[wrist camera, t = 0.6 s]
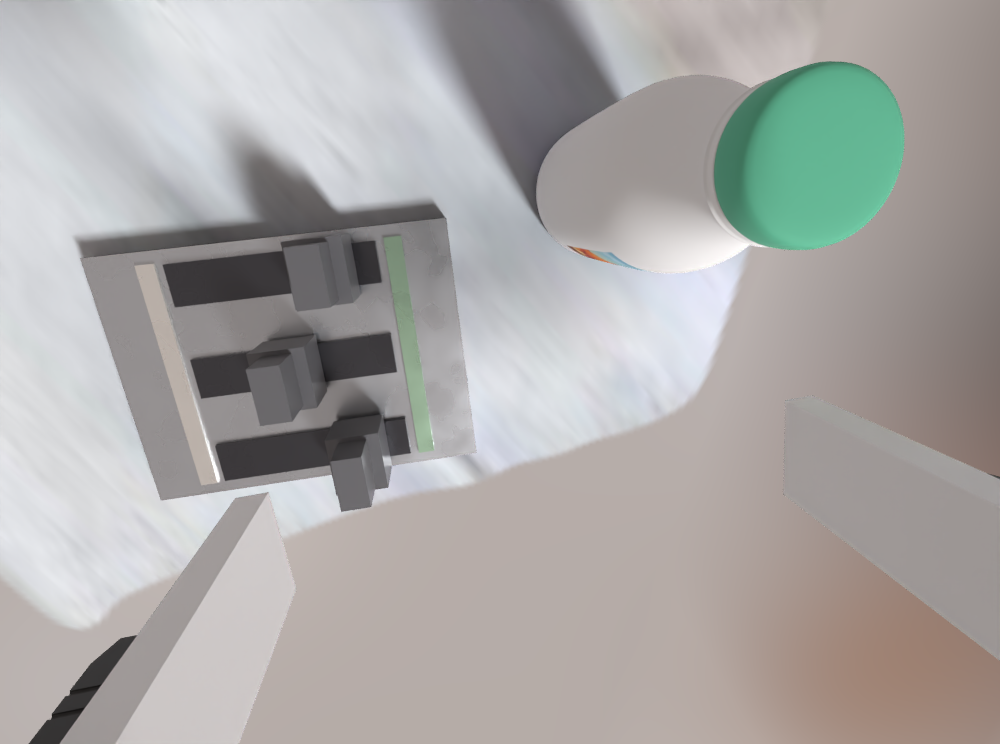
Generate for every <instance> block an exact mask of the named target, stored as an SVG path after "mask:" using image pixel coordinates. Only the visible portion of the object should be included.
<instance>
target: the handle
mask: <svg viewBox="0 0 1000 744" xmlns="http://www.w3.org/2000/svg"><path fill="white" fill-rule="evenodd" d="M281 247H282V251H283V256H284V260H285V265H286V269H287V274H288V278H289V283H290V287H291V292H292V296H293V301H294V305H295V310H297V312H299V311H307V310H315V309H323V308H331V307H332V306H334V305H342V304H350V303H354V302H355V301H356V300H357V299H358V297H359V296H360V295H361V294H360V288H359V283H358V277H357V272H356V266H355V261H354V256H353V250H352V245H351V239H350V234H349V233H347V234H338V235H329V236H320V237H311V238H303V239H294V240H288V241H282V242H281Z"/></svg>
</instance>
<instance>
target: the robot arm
mask: <svg viewBox="0 0 1000 744" xmlns="http://www.w3.org/2000/svg"><path fill="white" fill-rule="evenodd" d="M784 444H785V445H784V489H783V491H784V492H783V495H784V496H786V497H787V498H788V499H790V500H791V501H792V502H794V503H795V504H796V505H797V506H799V507H800V508H801V509H803V510H804V511H805V512H807V513H808V514H809V515H811V516H812V517H813V518H815V519H816V520H817V521H818V522H820V523H821V524H822V525H824V526H825V527H826V528H828V529H829V530H830V531H831V532H833V533H834V534H835V535H837V536H838V537H839V538H840V539H842V540H843V541H844V542H846V543H847V544H848V545H850V546H851V547H852V548H854V549H855V550H856V551H858V552H859V553H860V554H861V555H863V556H864V557H865V558H867V559H868V560H869V561H870V562H872V563H873V564H874V565H876V566H877V567H878V568H880V569H881V570H882V571H884V572H885V573H886V574H887V575H889V576H890V577H891V578H893V579H894V580H895V581H897V582H898V583H899V584H901V585H902V586H903V587H904V588H906V589H907V590H908V591H910V592H911V593H912V594H914V595H915V596H916V597H918V598H919V599H920V600H921V601H923V602H924V603H925V604H927V605H928V606H929V607H930V608H932V609H933V610H934V611H936V612H937V613H938V614H940V615H941V616H942V617H943V618H945V619H946V620H947V621H949V622H950V623H951V624H953V625H954V626H955V627H957V628H958V629H959V630H960V631H962V632H963V633H964V634H966V635H967V636H968V637H970V638H971V639H972V640H973V641H975V642H976V643H977V644H979V645H980V646H981V647H983V648H984V649H986V651H988V652H989V653H991V654H992V655H993V656H994V657H996V658H997V659H998V660H1000V477H998V476H995V475H991V474H988V473H985V472H982V471H980V470H978V469H976V468H973V467H971V466H969V465H967V464H965V463H962V462H960V461H958V460H956V459H953V458H951V457H949V456H947V455H944V454H942V453H940V452H938V451H936V450H933V449H931V448H929V447H927V446H924V445H922V444H920V443H917V442H916V441H913V440H911V439H909V438H907V437H904V436H902V435H900V434H897V433H895V432H893V431H891V430H889V429H886V428H884V427H882V426H880V425H878V424H875V423H873V422H871V421H869V420H866V419H864V418H862V417H860V416H857V415H855V414H853V413H851V412H848V411H846V410H844V409H842V408H840V407H837V406H835V405H833V404H830V403H828V402H826V401H824V400H822V399H819V398H817V397H815V396H807V397H802V398H797V399H791V400H785V439H784ZM295 591H296V586H295V583H294V579H293V576H292V572H291V569H290V565H289V562H288V558H287V555H286V551H285V548H284V544H283V541H282V538H281V534H280V531H279V527H278V524H277V520H276V517H275V513H274V510H273V506H272V503H271V500H270V496H269V493H268V492H267V493H262V494H256V495H250V496H245V497H239V498H235V500H234V501H233V502H232V504H231V505H230V507H229V508H228V509H227V511H226V512H225V513H224V515H223V516H222V518H221V519H220V520H219V522H218V523H217V525H216V526H215V527H214V529H213V530H212V532H211V533H210V534H209V536H208V537H207V539H206V540H205V541H204V543H203V544H202V546H201V547H200V548H199V550H198V551H197V553H196V554H195V555H194V557H193V558H192V560H191V561H190V562H189V564H188V565H187V567H186V568H185V569H184V571H183V572H182V574H181V575H180V576H179V578H178V579H177V581H176V582H175V583H174V585H173V586H172V588H171V589H170V590H169V592H168V593H167V594H166V596H165V597H164V599H163V600H162V601H161V603H160V604H159V606H158V607H157V608H156V610H155V611H154V613H153V614H152V615H151V617H150V618H149V620H148V621H147V622H146V624H145V625H144V627H143V628H142V629H141V631H140V632H139V634H138V635H136V636H130V637H125V638H121V639H120V640H118V641H117V642H116V643H115V644H114V645H112V646H111V647H110V648H109V649H108V650H106V651H105V652H104V653H103V654H102V655H101V656H99V657H98V658H97V659H96V660H95V661H94V662H93V663H91V664H90V666H89V667H88V668H87V669H86V671H85V672H84V673H83V675H82V676H81V677H80V679H79V680H78V681H77V682H76V684H75V685H74V686H73V687H72V689H71V690H70V695H69V696H66V697H65V698H64V699H63V700H62V702H61V703H60V704H59V706H58V707H57V708H56V709H55V711H54V712H53V713H52V718H51V720H47V721H46V722H45V724H44V725H43V726H42V727H41V729H40V730H39V731H38V733H37V734H36V735H35V737H34V738H33V739H32V740H31V742H30V743H29V744H239V742H240V739H241V737H242V734H243V731H244V729H245V726H246V723H247V720H248V718H249V715H250V712H251V710H252V707H253V704H254V702H255V699H256V696H257V693H258V691H259V688H260V686H261V683H262V680H263V677H264V675H265V672H266V669H267V667H268V664H269V661H270V659H271V655H272V653H273V650H274V648H275V645H276V642H277V640H278V637H279V634H280V631H281V629H282V626H283V623H284V621H285V618H286V615H287V613H288V610H289V607H290V605H291V602H292V599H293V597H294V594H295Z"/></svg>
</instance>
